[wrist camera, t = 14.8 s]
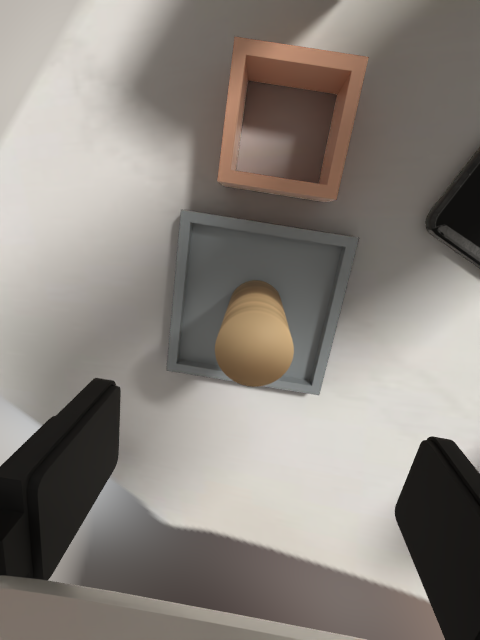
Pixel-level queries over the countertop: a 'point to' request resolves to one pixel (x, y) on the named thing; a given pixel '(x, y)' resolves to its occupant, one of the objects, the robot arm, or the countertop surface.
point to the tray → (265, 265)
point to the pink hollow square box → (297, 72)
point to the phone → (460, 213)
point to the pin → (254, 336)
